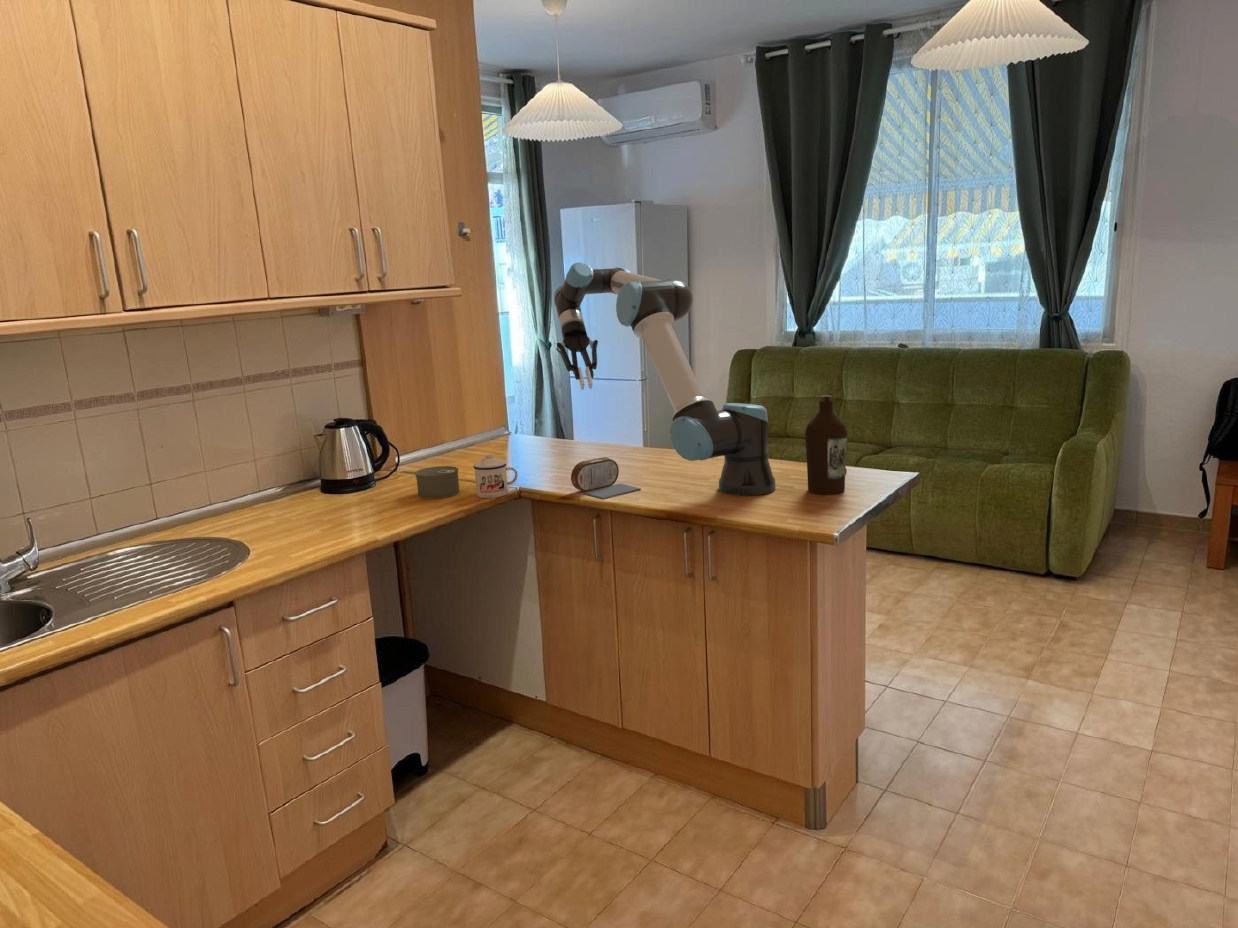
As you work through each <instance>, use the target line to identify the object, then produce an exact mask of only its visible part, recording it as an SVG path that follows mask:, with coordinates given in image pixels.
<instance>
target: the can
mask: <svg viewBox="0 0 1238 928" xmlns="http://www.w3.org/2000/svg"><path fill="white" fill-rule="evenodd" d="M415 477H416V478H415V479H416V486H417V493H418V494H417V495H418V498H419V499H420V498H421V499H424V500H440V499H441V500H442V499H446V498H451V497H454V496H457V495H459V494H460V493H459V492H461V491H460V483H459V482H460V480H459V468H458V467H456V466H450V465H446V466H445V465H441V466H431V467H425V468H423V469H422V468H421V469H418V470H417V471H415Z"/></svg>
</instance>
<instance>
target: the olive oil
mask: <svg viewBox="0 0 1238 928" xmlns="http://www.w3.org/2000/svg"><path fill="white" fill-rule="evenodd" d="M818 403H819V404H818V406H819V409H818V412H817V413H816V414H815V415H814V416H813V417H812V418H811V419H810V420H809V421H808V423H807V425H806V426H805V427H806V428H805V433H804V435H805V436H804V438H805V440H804V441H805V454H806V469H807V471H806V473H807V490H808V492H810V493H811V494H817V495H836V494H842V493H843V492H844V491H845V489H846V476H847V471H848V470H847V468H846V465H847V449H848V447H847V446H848V445H847V444H848V429H847V427H846V424H845V422H844V421H843V419H842V418H840V416H838V414H836V412H835V411H834V410H833V409H834V408H833V405H834V401H833V395H830V394H827V395H826V394H824V395H823V394H822V395H820V396H819V402H818Z"/></svg>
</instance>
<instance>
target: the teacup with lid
mask: <svg viewBox="0 0 1238 928" xmlns="http://www.w3.org/2000/svg"><path fill="white" fill-rule="evenodd" d="M493 455H494V454H493V453H486V454H485V457H483V458H481V459H480V460H479V461H476V462H474V464H473V468H474V477H475V487H476V490H475V491H476V496H477V498H481V499H496V498H500V497H501V498H502V497H504V496H506V495H507V494H508V492H509V490H508V486H511V485H513V484H515V482H516V481H517V480H518V476H519V475H518V473H519V472H518V471H517V470H516V468H515V467H512V466H510V467H509V466H508V467H506V466H507V462H506V461H505V460H503V459H500V458H498V457H495V456H493ZM507 471H513V472H514V478H513V479H512V480H511V481H508V478H507Z"/></svg>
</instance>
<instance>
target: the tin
mask: <svg viewBox="0 0 1238 928" xmlns="http://www.w3.org/2000/svg"><path fill="white" fill-rule="evenodd" d="M619 470H620V469H619V465H618V463H617V462H616V461H615V460H614V459H611V458H609V457H606V456H603V457H599V458H593V459H588V460H582V461H580V462H578V463H576V465H575V466H574V467H573V468H572V471H571V474H570V480H571V481H570V482H571V485H572V486H573V488H575V489H576V490H578V491H582V492H587V491H591V490H595V489H599V488H604V487H608V486H612V485H615V483H616V481H617V480H618V478H619Z"/></svg>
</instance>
